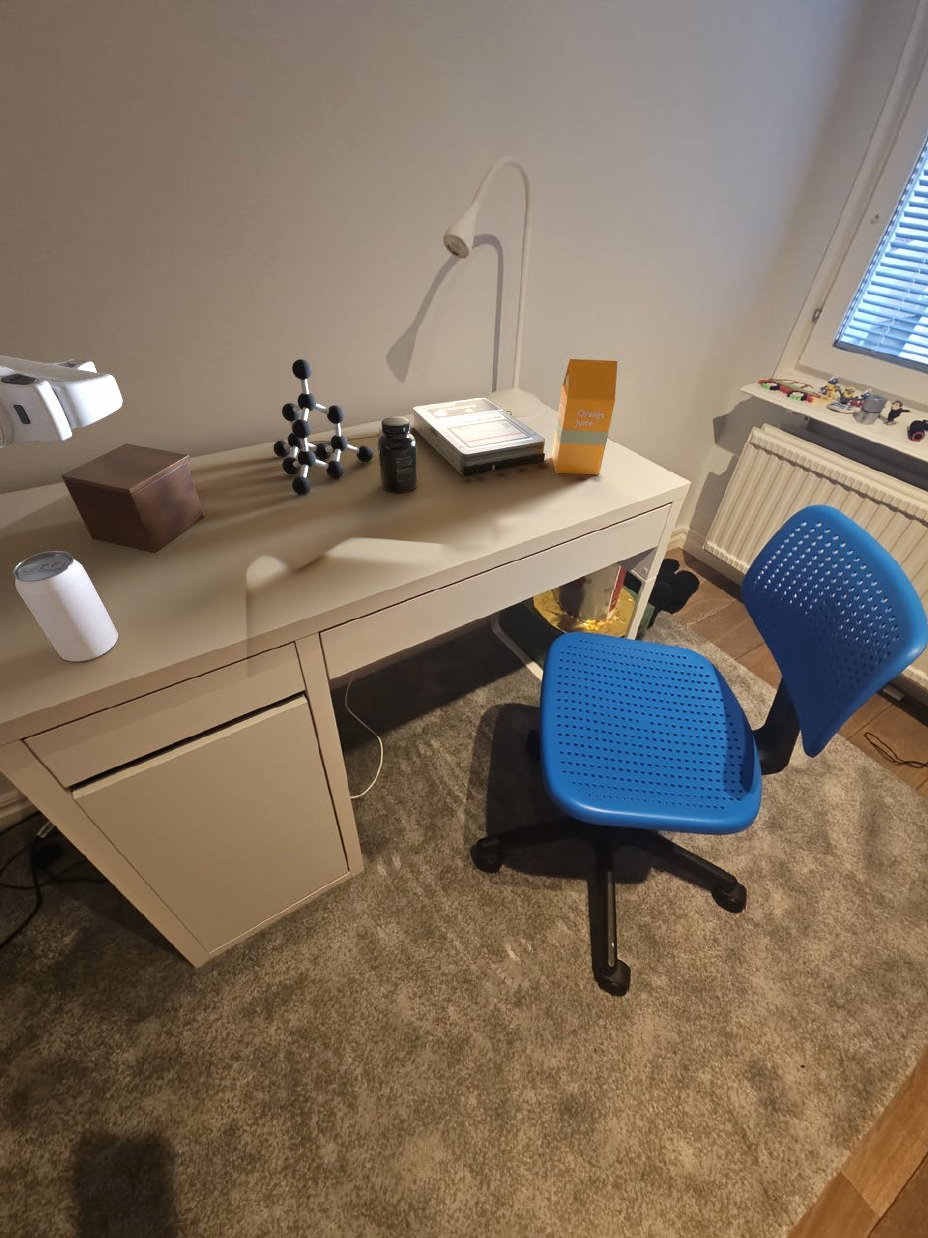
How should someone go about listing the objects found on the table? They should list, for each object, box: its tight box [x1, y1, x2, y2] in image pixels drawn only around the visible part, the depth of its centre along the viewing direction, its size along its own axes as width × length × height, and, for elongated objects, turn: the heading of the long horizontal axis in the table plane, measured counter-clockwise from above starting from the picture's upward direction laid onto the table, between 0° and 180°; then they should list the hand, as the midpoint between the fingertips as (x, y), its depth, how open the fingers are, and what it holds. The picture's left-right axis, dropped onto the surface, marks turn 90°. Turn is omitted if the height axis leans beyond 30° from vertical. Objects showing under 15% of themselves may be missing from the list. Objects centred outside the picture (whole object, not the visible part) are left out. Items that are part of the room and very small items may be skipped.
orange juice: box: [551, 358, 618, 475], centre depth 103 cm, size 8×9×20 cm
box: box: [63, 461, 205, 554], centre depth 84 cm, size 11×12×10 cm
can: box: [12, 550, 119, 663], centre depth 62 cm, size 6×6×12 cm
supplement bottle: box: [376, 416, 418, 494], centre depth 96 cm, size 7×7×12 cm
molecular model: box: [273, 358, 374, 496], centre depth 98 cm, size 18×20×20 cm
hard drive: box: [412, 397, 546, 478], centre depth 115 cm, size 18×27×4 cm
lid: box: [61, 443, 191, 494], centre depth 80 cm, size 12×12×1 cm
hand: (86, 366), depth 71 cm, fingers closed
